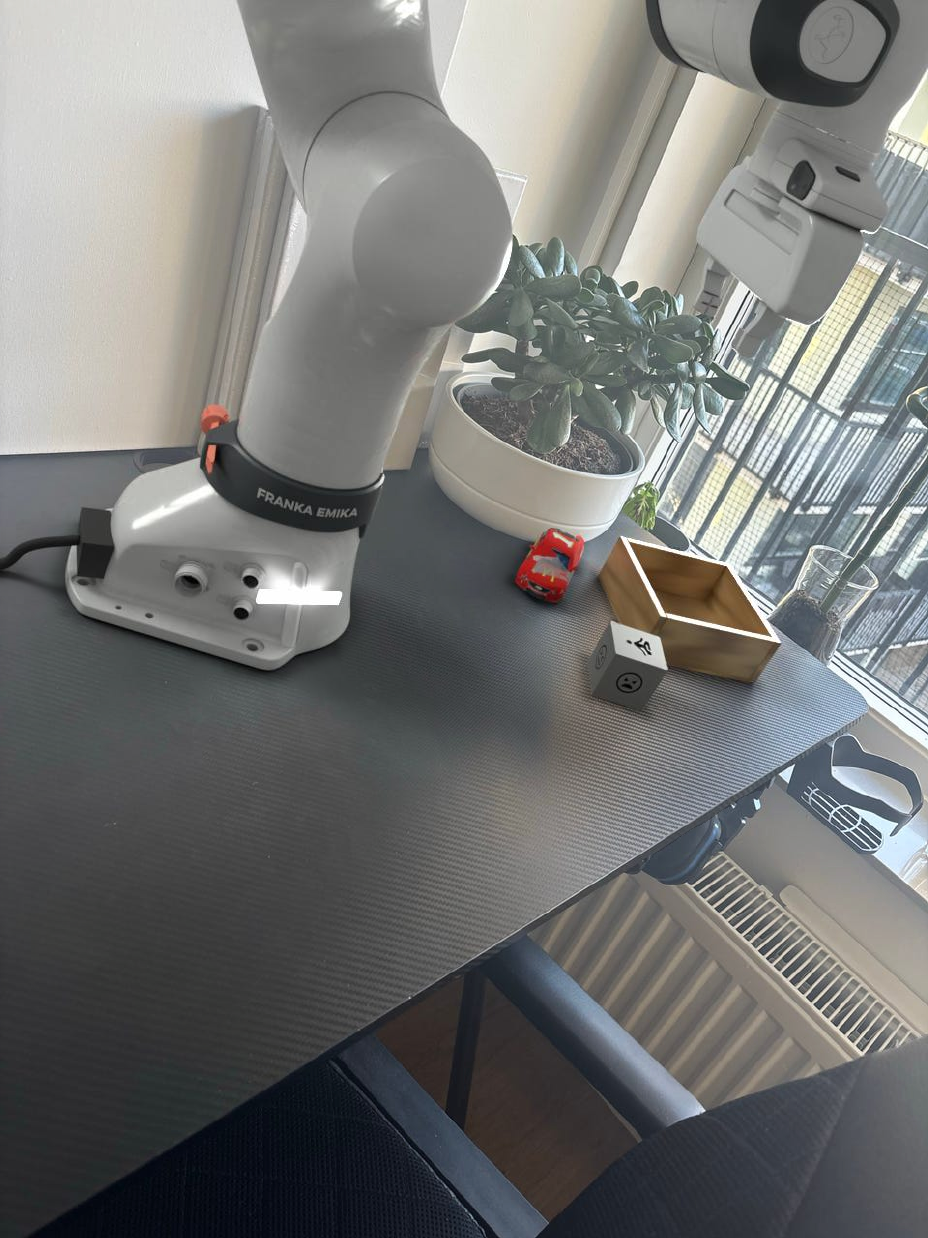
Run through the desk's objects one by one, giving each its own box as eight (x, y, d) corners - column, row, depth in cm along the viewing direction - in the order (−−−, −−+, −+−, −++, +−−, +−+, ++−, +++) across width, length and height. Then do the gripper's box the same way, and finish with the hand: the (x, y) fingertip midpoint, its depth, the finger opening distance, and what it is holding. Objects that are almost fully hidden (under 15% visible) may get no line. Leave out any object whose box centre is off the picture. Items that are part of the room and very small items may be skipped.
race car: (554, 615, 93) (571, 583, 91) (505, 589, 94) (520, 557, 91) (582, 561, 104) (598, 531, 102) (538, 538, 105) (553, 508, 102)
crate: (634, 659, 92) (660, 616, 89) (597, 576, 103) (619, 535, 100) (754, 683, 96) (782, 643, 94) (706, 601, 107) (730, 563, 104)
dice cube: (642, 711, 85) (667, 670, 83) (591, 695, 84) (615, 653, 82) (635, 677, 89) (660, 637, 87) (587, 661, 88) (610, 620, 86)
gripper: (725, 129, 83) (653, 281, 90) (831, 189, 67) (733, 368, 74) (784, 154, 85) (709, 301, 92) (900, 219, 69) (798, 390, 76)
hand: (720, 332), depth 83 cm, fingers open, 8 cm apart
